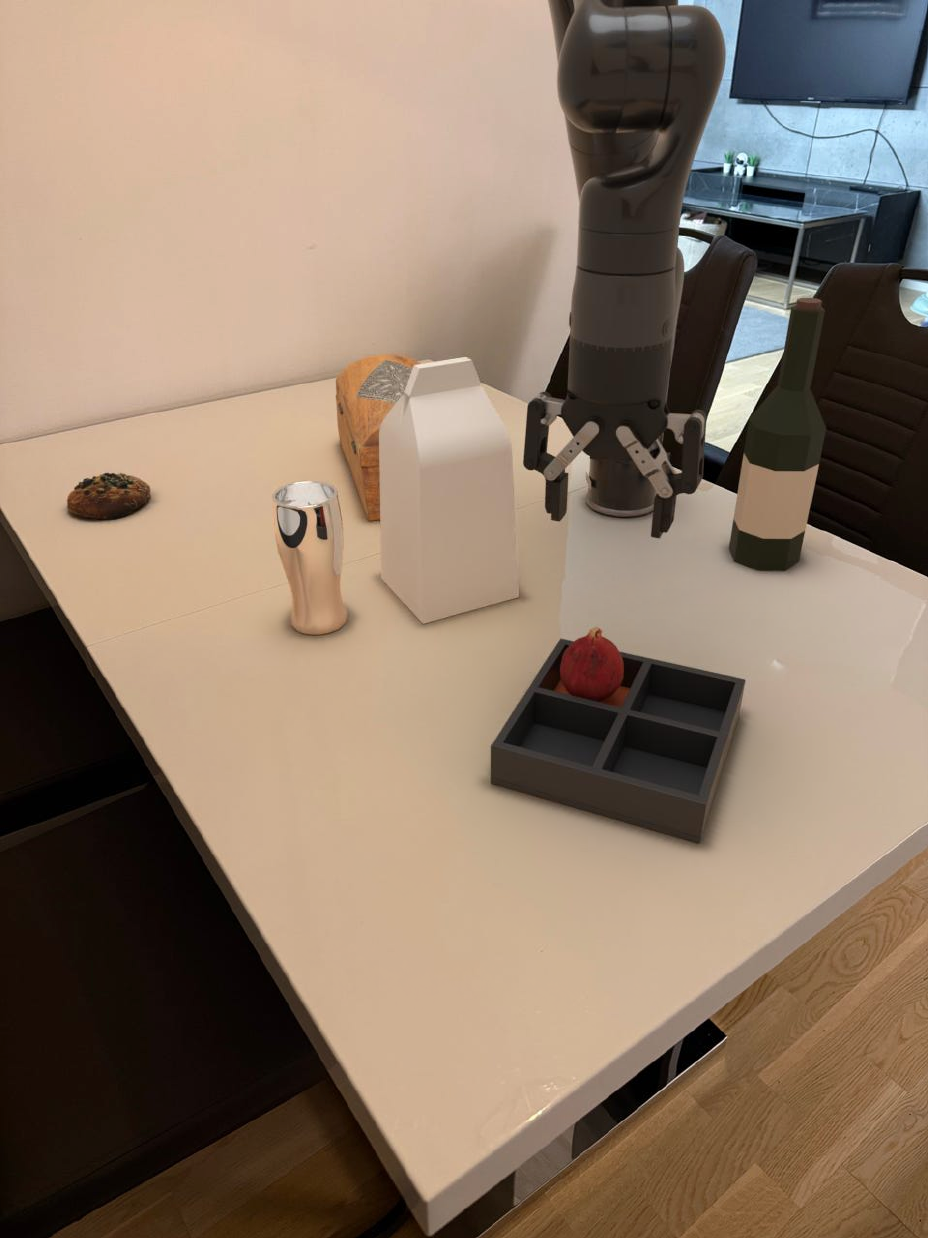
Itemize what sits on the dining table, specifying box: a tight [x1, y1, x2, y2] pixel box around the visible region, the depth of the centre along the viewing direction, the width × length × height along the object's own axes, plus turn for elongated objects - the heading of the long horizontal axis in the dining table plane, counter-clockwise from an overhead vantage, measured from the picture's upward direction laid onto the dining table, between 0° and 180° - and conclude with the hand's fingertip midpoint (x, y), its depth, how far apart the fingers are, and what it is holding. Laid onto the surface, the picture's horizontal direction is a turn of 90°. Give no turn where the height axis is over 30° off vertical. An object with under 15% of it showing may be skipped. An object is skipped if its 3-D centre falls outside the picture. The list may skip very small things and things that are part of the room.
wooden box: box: [335, 354, 422, 522], centre depth 131 cm, size 30×16×14 cm, turn 12°
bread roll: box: [66, 472, 151, 521], centre depth 126 cm, size 11×11×5 cm
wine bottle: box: [728, 297, 827, 572], centre depth 103 cm, size 8×8×30 cm
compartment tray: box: [490, 638, 746, 844], centre depth 80 cm, size 18×18×4 cm
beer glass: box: [271, 480, 348, 636], centre depth 96 cm, size 7×7×15 cm
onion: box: [560, 626, 624, 702], centre depth 83 cm, size 6×6×8 cm
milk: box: [379, 356, 520, 625], centre depth 99 cm, size 12×12×26 cm
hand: (607, 525), depth 77 cm, fingers open, 8 cm apart
